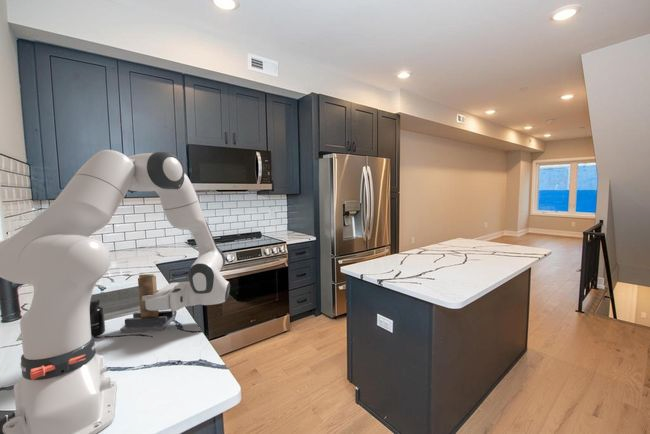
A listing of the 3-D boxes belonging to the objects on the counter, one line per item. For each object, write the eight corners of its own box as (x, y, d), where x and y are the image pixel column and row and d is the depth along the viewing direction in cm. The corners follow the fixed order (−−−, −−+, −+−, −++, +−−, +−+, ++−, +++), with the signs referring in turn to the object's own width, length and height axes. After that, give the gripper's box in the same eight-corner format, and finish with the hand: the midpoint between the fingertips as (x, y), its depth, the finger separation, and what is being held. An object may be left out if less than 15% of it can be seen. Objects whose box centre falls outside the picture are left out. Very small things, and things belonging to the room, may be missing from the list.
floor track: (174, 318, 111) (174, 309, 110) (162, 330, 101) (161, 320, 100) (136, 320, 110) (136, 311, 109) (120, 333, 100) (119, 323, 99)
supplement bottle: (91, 340, 95) (88, 305, 94) (74, 338, 96) (71, 303, 96) (110, 330, 102) (107, 297, 101) (94, 329, 103) (92, 296, 102)
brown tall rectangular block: (158, 315, 107) (155, 273, 106) (155, 318, 105) (152, 275, 104) (144, 316, 107) (141, 273, 106) (140, 318, 104) (137, 275, 103)
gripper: (194, 277, 116) (159, 279, 115) (172, 294, 96) (128, 297, 95) (195, 292, 117) (160, 294, 116) (173, 313, 97) (130, 315, 95)
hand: (145, 295), depth 105 cm, fingers closed on brown tall rectangular block, 2 cm apart
